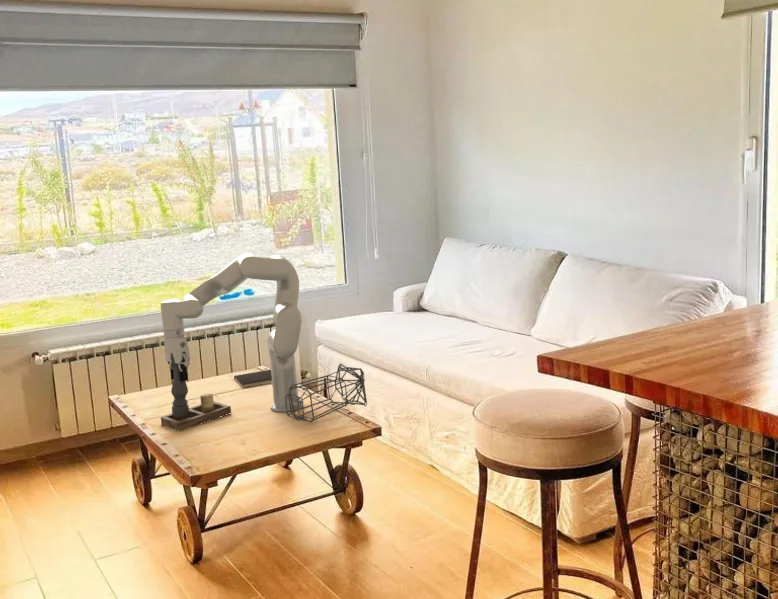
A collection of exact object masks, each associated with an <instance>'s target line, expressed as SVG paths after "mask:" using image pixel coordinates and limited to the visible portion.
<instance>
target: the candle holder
mask: <svg viewBox="0 0 778 599" xmlns="http://www.w3.org/2000/svg"><path fill="white" fill-rule="evenodd" d="M170 360H171V362H172V364H173V366H172V367H171V368H172V370H173V371H174V379H172V384H171V385H172V386H171V390H170V391H171V395H172V397H173V401H172V402H171V403H172V405H171V414H172V415H173V416H174V417H185V416H187V415H189V408H190V405H189V404H188V403H189V401H188V400H187V395H188V392H189V388H188V385H187V382H186V381H187V380H186V381H183V382H180V378H179V371H180V370H179V366H178V364H177V363H175V360H174V357H173V353H171V358H170ZM181 362H184V361H183V360H182V361H181ZM183 365H184V364H181V366H183Z"/></svg>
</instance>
